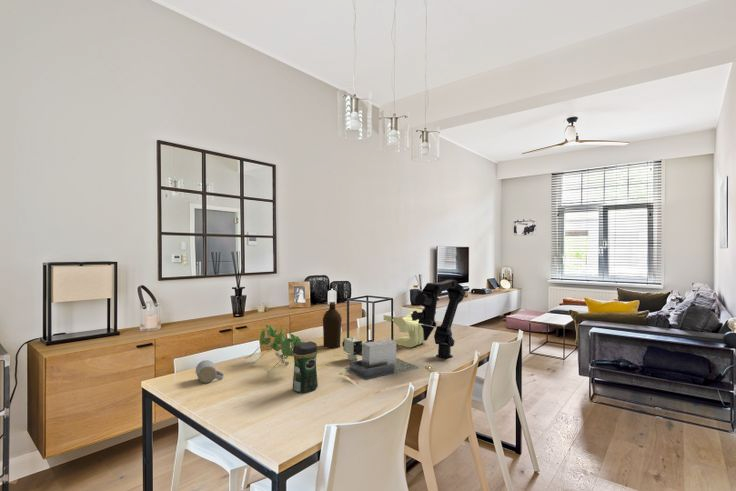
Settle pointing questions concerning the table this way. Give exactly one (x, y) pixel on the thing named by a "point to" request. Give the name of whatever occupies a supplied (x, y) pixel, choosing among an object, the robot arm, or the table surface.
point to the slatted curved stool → (408, 329)
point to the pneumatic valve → (352, 347)
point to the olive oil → (332, 327)
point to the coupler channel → (379, 369)
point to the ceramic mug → (207, 371)
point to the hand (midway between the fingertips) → (425, 340)
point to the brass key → (429, 368)
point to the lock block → (378, 353)
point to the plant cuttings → (285, 343)
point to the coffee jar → (305, 367)
